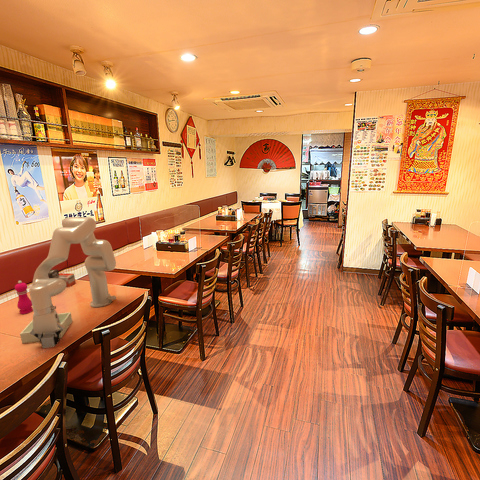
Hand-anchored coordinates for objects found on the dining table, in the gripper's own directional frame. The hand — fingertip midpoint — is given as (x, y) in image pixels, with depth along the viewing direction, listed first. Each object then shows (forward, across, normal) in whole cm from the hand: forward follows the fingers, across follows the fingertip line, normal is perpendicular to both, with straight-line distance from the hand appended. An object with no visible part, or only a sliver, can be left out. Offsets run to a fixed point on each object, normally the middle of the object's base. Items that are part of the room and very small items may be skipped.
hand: (50, 343), depth 137 cm
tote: (+1, +6, -13) cm, 14 cm away
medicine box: (+1, +21, -81) cm, 84 cm away
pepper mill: (+1, +28, -42) cm, 50 cm away
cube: (+1, 0, 0) cm, 1 cm away
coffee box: (+1, +22, -67) cm, 70 cm away
